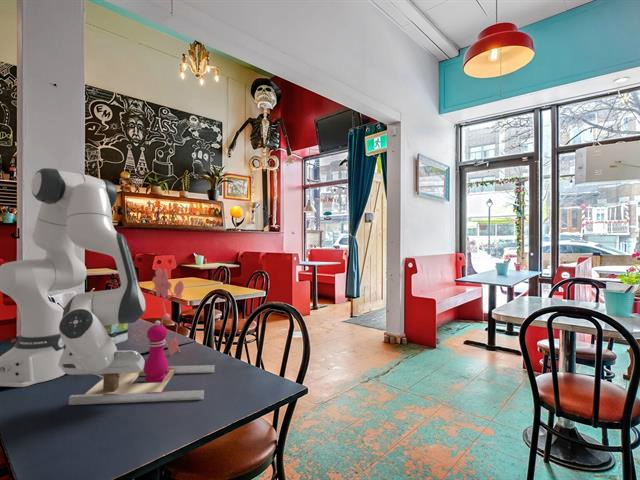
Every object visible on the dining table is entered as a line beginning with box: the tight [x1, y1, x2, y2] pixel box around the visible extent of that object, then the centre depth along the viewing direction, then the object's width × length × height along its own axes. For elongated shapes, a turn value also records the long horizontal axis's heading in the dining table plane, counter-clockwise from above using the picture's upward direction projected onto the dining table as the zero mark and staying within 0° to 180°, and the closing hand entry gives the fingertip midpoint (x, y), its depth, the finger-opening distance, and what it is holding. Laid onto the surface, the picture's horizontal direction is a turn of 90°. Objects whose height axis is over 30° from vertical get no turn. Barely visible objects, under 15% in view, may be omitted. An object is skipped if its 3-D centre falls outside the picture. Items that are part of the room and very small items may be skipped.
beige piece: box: [83, 369, 175, 395], centre depth 108 cm, size 20×19×10 cm
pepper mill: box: [144, 320, 169, 383], centre depth 112 cm, size 7×7×20 cm
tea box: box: [104, 323, 129, 345], centre depth 153 cm, size 15×10×15 cm, turn 77°
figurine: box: [148, 267, 185, 357], centre depth 138 cm, size 15×26×35 cm, turn 54°
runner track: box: [68, 364, 215, 406], centre depth 109 cm, size 36×22×2 cm, turn 99°
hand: (112, 375), depth 102 cm, fingers closed on beige piece, 3 cm apart
